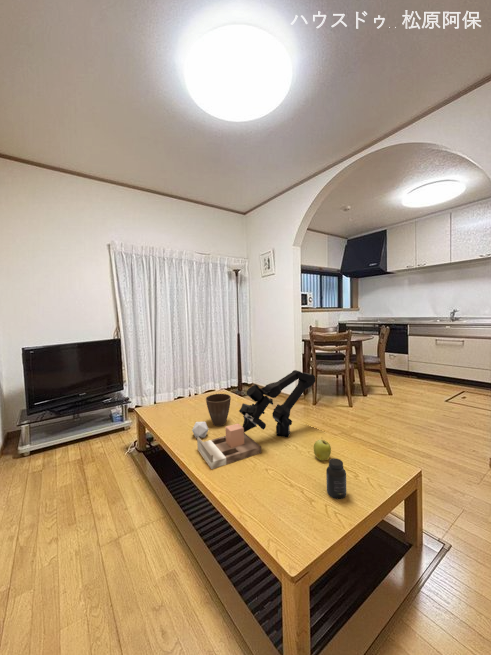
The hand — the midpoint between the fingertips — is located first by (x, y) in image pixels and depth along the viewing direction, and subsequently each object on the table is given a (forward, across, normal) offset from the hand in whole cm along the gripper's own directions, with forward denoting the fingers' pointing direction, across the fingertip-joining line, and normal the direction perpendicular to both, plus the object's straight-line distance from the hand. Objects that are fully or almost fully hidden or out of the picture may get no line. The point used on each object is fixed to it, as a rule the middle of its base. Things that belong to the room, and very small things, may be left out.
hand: (241, 432), depth 130 cm
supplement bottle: (-5, +47, +15) cm, 50 cm away
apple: (-14, +28, +24) cm, 39 cm away
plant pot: (+4, -32, +6) cm, 33 cm away
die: (+15, -22, -4) cm, 27 cm away
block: (+6, 0, 0) cm, 6 cm away
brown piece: (+10, 0, 0) cm, 10 cm away
